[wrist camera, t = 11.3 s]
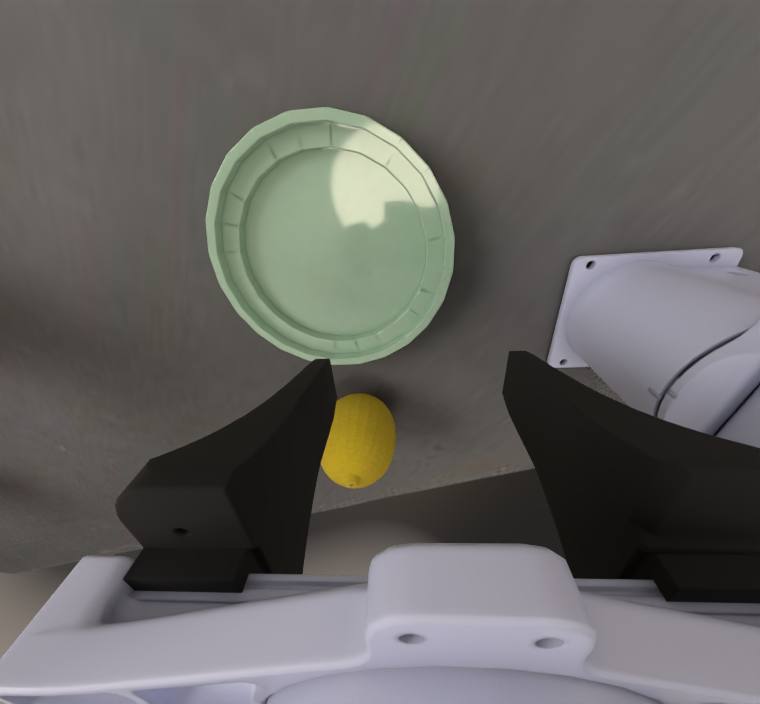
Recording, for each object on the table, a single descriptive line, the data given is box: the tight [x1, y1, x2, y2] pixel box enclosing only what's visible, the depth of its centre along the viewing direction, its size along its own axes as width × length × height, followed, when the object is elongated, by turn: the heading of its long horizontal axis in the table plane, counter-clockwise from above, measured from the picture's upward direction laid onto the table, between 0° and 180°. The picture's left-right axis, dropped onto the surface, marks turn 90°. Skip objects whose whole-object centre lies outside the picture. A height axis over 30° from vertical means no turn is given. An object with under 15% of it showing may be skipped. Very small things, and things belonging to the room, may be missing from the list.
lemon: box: [321, 393, 396, 488], centre depth 22 cm, size 6×6×8 cm
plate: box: [206, 107, 455, 365], centre depth 18 cm, size 14×14×2 cm
